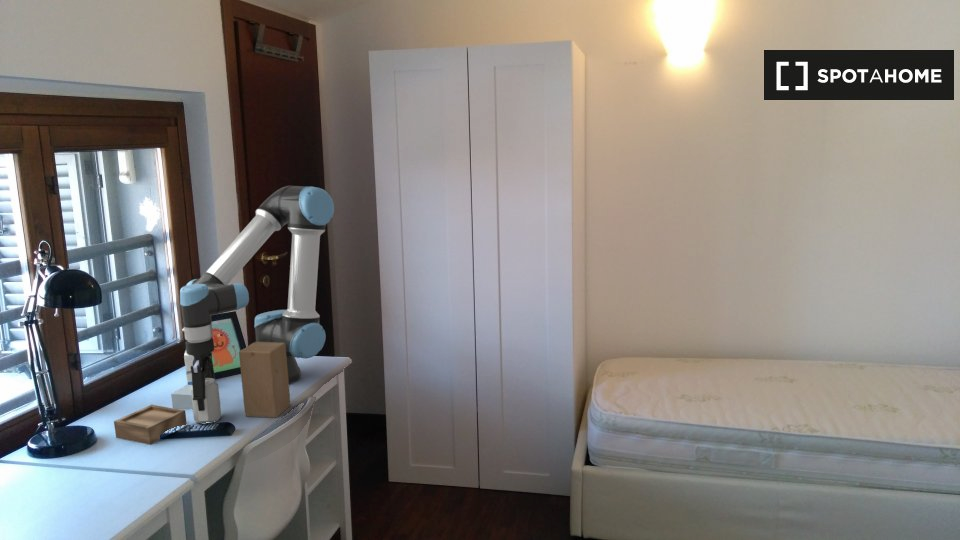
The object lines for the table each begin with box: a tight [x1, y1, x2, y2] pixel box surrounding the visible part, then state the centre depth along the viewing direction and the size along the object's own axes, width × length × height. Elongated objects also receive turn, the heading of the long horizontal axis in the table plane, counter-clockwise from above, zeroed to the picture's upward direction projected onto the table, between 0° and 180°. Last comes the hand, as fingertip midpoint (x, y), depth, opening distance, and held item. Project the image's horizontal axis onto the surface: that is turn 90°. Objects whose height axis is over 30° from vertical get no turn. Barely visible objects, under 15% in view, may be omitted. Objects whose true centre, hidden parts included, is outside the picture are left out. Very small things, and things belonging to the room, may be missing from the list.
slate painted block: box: [170, 384, 193, 411], centre depth 230 cm, size 8×8×5 cm
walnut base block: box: [113, 404, 188, 445], centre depth 210 cm, size 13×13×5 cm
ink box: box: [183, 350, 194, 385], centre depth 247 cm, size 9×5×12 cm, turn 13°
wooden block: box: [238, 341, 291, 419], centre depth 221 cm, size 10×10×20 cm
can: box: [191, 378, 222, 424], centre depth 216 cm, size 8×8×12 cm
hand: (207, 414), depth 217 cm, fingers closed on can, 7 cm apart
